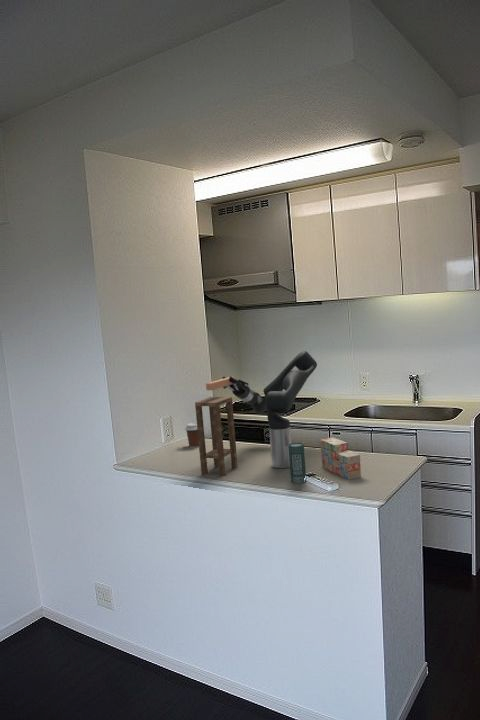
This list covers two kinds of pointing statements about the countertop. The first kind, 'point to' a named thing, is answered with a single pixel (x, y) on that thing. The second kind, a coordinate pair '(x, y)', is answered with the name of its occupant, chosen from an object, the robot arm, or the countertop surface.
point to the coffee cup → (192, 435)
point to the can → (297, 462)
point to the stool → (216, 434)
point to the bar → (218, 384)
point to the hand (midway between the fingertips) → (226, 378)
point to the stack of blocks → (340, 458)
